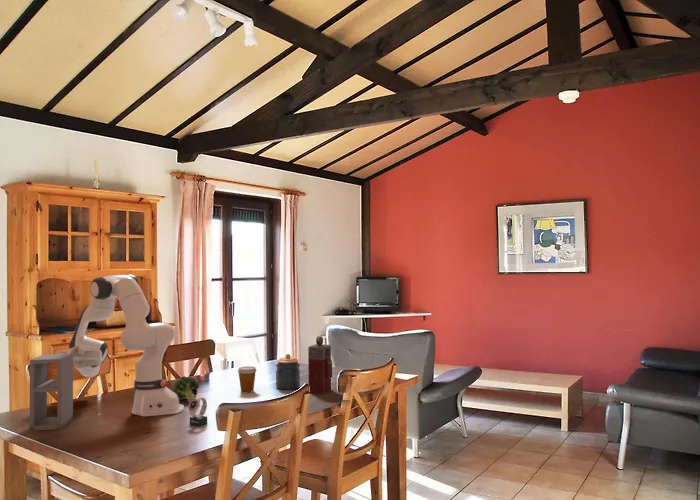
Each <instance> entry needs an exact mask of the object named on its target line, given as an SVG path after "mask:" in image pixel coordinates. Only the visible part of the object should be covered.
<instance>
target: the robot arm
mask: <svg viewBox="0 0 700 500" xmlns="http://www.w3.org/2000/svg"><path fill="white" fill-rule="evenodd" d="M89 289H90V294H91V297H90V298H91V299H90V303H89V306H88V307H85V308H84V309H83V310H82V312H81V313H80V315H79V318H78V321H77V324H76V327H75V330H74V333H73V334H72V337H71V340H70V342H69V344H68V349H70V348H72V347H76V346H79V348H77V350H76V352H77V353H78V354H76V355H74V356H73V367H75V369H76V370H77V371H78V372H79V373H80V374H81V375H82V376H83V377H85V378H93V377H96V376H97V375H98V373H99V372H100V368H101V366H102V364H103V363H104V362H105V361H106V360H107V358H108V355H109V346H108V343H107V342H105V341H102V340H99V339H95V338H92V337H88V336H87V335H86V332H87V329H88V326H89V323H90V322H101V321H105V320H107V319H109V318H110V317H112V315H113V313H114V311H115V306H116V299H118V302H119V305H120V307H121V309H122V312H123V315H124V318H125V328H124V329H123V330H122V332H121V335H120V342H121V345H122V347H123V348H124V349H126V350H128V351H142V350H143V353H142V354H141V356H140V357H139V358H137V360H136V362H135V368H134V369H135V379H134V380H133V381H134V382H133V391H134V400H133V405H132V409H131V412H130V413H131V414H132V415H136V416H140V417H152V416H153V417H154V416H155V417H156V416H163V415H164V416H166V415H175V414H180V413H181V412H183V411H184V410H185V405H184V404H183V403H180V398H178V395H177V394H176V393H174V392H173V391H172V390H171V389H170V388H169V387H167V379H164V378H162V367H163V366H162V365H163V364H162V363H163V360H164V359H163V358H164V355H165V352H166V350H167V348H168V347H169V345H170V344H171V343H172V342H173V340H174V338H175V329H174V327H173V326H172V325H171V324H169V323H166V322H153V323H148V322H147V320H146V319H147V316H148V315H149V314H150V312H151V308H150V305H149V302H148V300H147V299H146V297H145V294H144V292H143V289H142V288H141V286H140V283H139V279H138V278H137V276H135V275H134V274H129V273H126V274H111V275H106V276H99V277H96V278H94V279H92V281H91V283H90V288H89ZM66 350H67V349H66ZM66 350H65V349H64V350H63V349H62V350H56V351H55V352H54V354H59V353H62V352H64V351H66Z"/></svg>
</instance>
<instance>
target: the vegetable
mask: <svg viewBox="0 0 700 500" xmlns="http://www.w3.org/2000/svg"><path fill="white" fill-rule="evenodd" d="M199 384H200V383H199V382H198V381H197V380H195V378H194V377H193V376H181V377H180V378H179V379H178V380H175V382H174V384H173V388H172V390H171V391H173V392H174V393H176V394H177V395H178V398H179V400H181V401H183V400H184V399H186V400H187V403H188V404H189V403H190V401H191V400H193V399H194V398H196V397H197V395H198V389H199V387H200V385H199Z"/></svg>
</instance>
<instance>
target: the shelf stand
mask: <svg viewBox="0 0 700 500" xmlns="http://www.w3.org/2000/svg"><path fill="white" fill-rule="evenodd" d="M48 364H57V373H56V374H57V379H55V378H53V379H49V380H48V373H47V372H48ZM51 392H52V393H55V392H57V393H56V395H57V397H56V398H57V402H56V405H57V408H56V409H57V410H56V411H57V416H48V393H51ZM73 420H74V365H73V354H55V353H53V354H52V353H51V354H50V353H49V354H41V355H39V356H36V357H33V358H31V359H29V431H40V430H41V431H42V430H43V431H44V430H62V429H63V428H64V427H66V426H67V425H69V424H70V423H71V422H72V421H73Z"/></svg>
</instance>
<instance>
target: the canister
mask: <svg viewBox="0 0 700 500" xmlns="http://www.w3.org/2000/svg"><path fill="white" fill-rule="evenodd" d="M276 361H277V363H276V364H275V367H276V371H275V387H276V389H277V388H279V389H278V390H282V389H291V390H295V389H294V388H297V387H298V388H297V389H300V388H301V369H300V367H301V364H300V363H299V361H300V359H298V358H296V357H295V356H294V357H293V356H291V354H290V353H286V354H285V357H284V356H283V357H280V358H279V359H278V360H276Z"/></svg>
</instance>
